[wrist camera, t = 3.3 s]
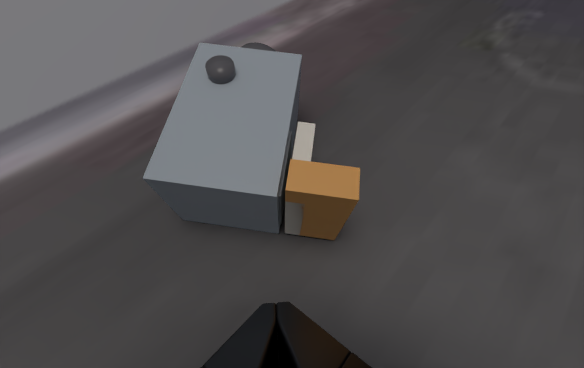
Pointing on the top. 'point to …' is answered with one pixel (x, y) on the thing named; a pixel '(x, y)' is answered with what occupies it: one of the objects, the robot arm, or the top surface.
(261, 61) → the grey knobbed box
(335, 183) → the side door
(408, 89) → the top surface
